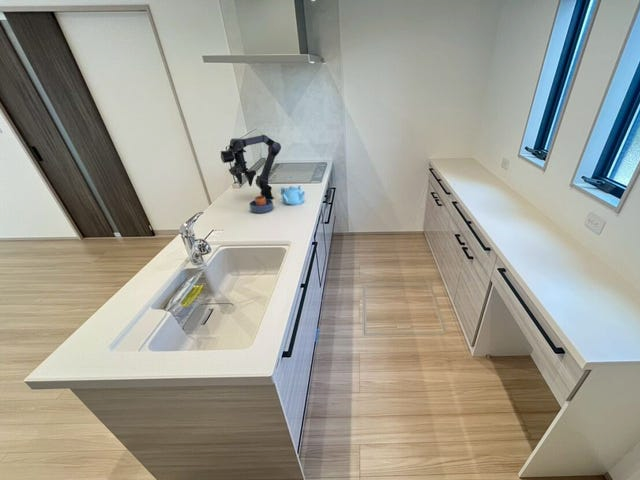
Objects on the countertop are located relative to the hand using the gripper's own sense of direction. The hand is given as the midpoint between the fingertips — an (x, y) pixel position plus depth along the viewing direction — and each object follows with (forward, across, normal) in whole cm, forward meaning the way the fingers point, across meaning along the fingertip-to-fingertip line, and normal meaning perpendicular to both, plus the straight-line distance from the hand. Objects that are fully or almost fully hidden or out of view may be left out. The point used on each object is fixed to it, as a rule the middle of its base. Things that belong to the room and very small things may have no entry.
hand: (245, 185), depth 203 cm
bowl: (+12, +18, -5) cm, 22 cm away
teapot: (+12, +26, +15) cm, 33 cm away
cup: (+11, +18, -5) cm, 22 cm away
